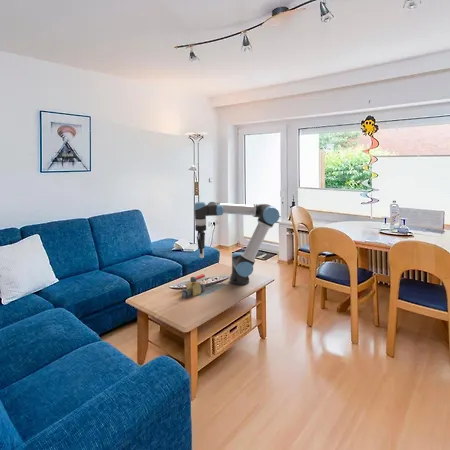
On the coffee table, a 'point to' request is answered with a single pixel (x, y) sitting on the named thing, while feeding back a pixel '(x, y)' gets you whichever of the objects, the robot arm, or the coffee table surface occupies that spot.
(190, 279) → the lever
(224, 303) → the coffee table surface
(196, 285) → the valve
